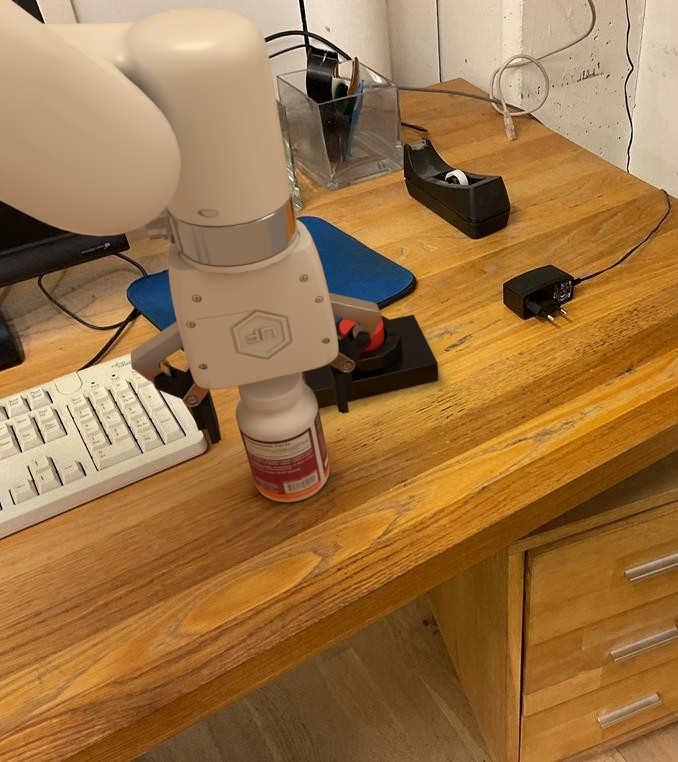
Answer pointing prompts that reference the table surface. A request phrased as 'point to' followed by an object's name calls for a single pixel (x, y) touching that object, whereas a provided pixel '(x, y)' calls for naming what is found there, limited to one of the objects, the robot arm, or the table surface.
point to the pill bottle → (283, 437)
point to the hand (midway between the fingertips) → (279, 416)
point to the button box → (383, 364)
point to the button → (375, 339)
